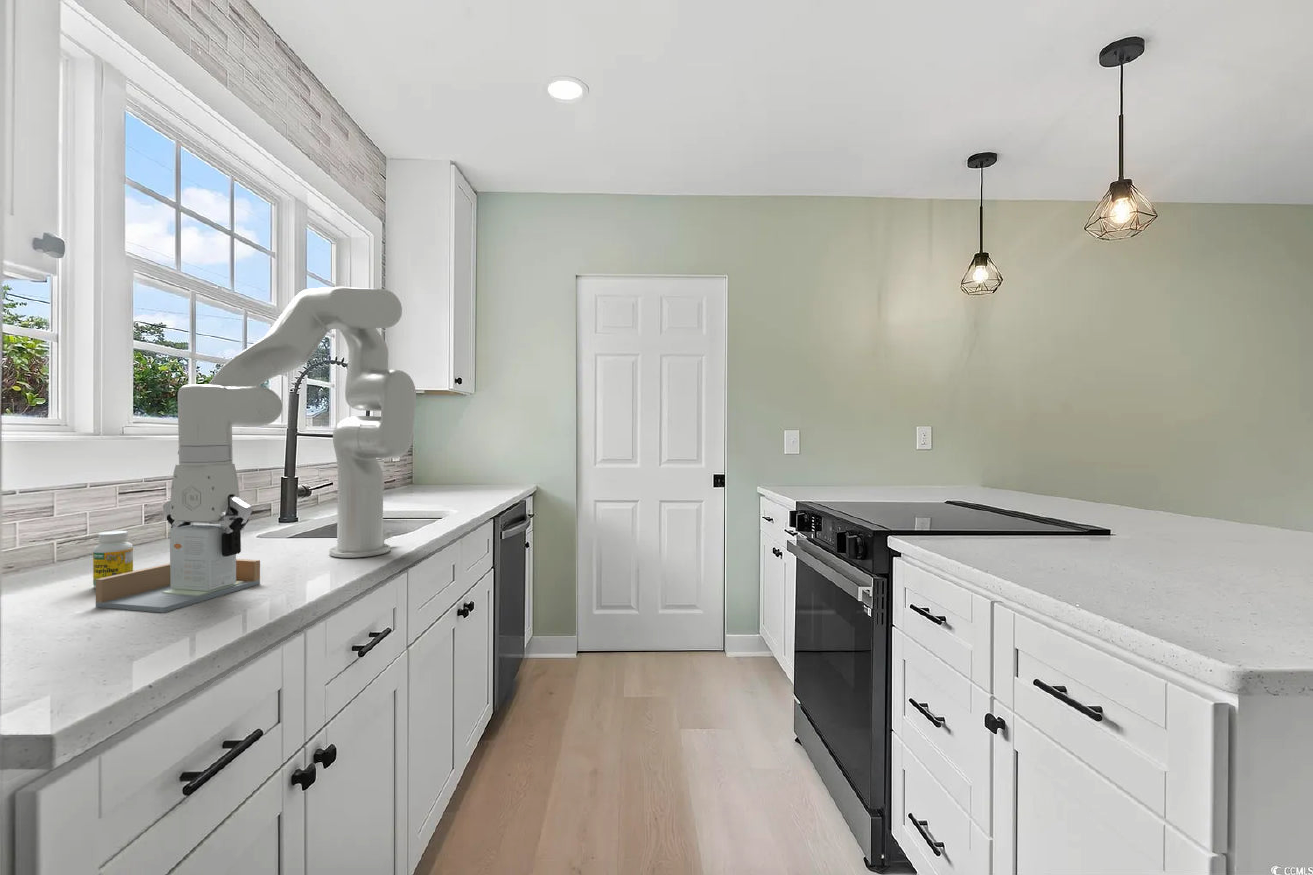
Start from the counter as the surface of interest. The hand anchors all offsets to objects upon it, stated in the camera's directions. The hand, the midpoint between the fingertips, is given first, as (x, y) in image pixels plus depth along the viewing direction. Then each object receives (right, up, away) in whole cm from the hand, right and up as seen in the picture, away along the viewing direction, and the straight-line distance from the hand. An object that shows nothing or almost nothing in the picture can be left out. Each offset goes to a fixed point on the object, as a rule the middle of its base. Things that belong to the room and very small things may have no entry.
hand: (207, 553), depth 106 cm
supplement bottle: (-19, -7, +3) cm, 21 cm away
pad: (0, -7, 0) cm, 7 cm away
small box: (0, -6, 0) cm, 6 cm away
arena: (-3, -7, -2) cm, 7 cm away
